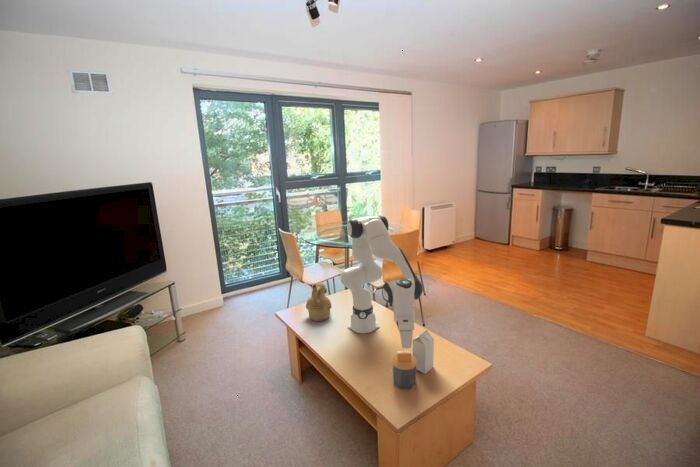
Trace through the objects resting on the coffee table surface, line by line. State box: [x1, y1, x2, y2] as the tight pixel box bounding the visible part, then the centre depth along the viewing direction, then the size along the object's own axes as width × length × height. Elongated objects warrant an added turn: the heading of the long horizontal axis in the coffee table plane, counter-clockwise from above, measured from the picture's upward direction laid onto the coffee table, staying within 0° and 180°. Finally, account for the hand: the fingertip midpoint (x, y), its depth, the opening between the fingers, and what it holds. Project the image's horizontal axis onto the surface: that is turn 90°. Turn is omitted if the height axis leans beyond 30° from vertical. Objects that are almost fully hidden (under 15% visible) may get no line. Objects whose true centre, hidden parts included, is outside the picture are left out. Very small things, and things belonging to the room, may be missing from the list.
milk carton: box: [412, 328, 435, 375], centre depth 150 cm, size 7×7×19 cm
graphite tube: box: [392, 365, 417, 390], centre depth 141 cm, size 10×10×10 cm
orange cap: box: [391, 349, 417, 370], centre depth 140 cm, size 11×11×7 cm
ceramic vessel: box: [305, 282, 332, 322], centre depth 203 cm, size 17×20×25 cm
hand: (404, 345), depth 138 cm, fingers closed
